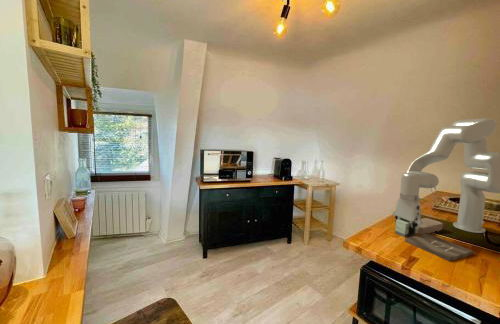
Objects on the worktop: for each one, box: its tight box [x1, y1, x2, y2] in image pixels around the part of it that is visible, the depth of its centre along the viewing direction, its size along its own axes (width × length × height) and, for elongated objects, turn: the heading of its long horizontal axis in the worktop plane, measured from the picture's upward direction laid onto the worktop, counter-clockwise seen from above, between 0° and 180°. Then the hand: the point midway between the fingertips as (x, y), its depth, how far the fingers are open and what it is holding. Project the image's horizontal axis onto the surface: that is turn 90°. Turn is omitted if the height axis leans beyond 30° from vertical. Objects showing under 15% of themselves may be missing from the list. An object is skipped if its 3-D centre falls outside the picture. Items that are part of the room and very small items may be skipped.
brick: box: [416, 217, 444, 235], centre depth 119 cm, size 17×8×5 cm, turn 108°
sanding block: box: [394, 219, 417, 238], centre depth 114 cm, size 8×5×7 cm, turn 110°
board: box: [404, 233, 474, 262], centre depth 100 cm, size 16×18×2 cm
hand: (405, 231), depth 114 cm, fingers closed on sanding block, 5 cm apart
